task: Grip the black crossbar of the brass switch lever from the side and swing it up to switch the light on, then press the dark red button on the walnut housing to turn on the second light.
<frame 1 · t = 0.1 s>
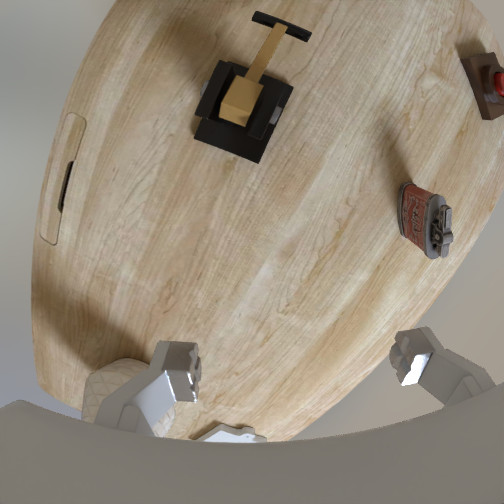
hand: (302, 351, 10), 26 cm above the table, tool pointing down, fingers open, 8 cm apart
light button: (503, 84, 22), point 4 cm above the table, slide at 0.1 cm
mounting plate: (229, 440, 58), on the table
button box: (485, 84, 26), on the table
switch bracket: (243, 111, 30), on the table
switch lever: (261, 60, 19), point 10 cm above the table, hinge at -25.0°
lighter: (407, 209, 35), on the table
vase: (138, 376, 48), on the table
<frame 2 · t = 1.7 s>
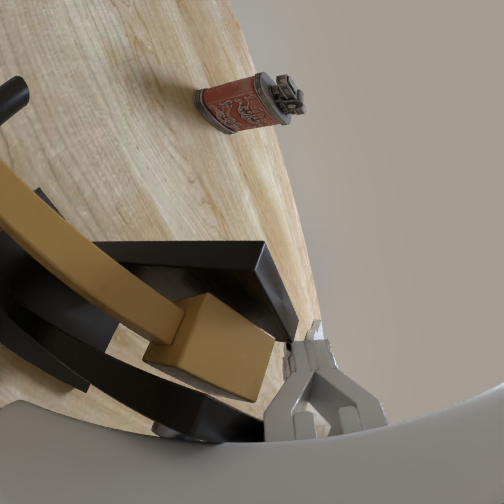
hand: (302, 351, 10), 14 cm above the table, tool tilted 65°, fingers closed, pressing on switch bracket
mounting plate: (310, 352, 71), on the table
switch bracket: (48, 298, 13), on the table
switch lever: (75, 262, 6), point 10 cm above the table, hinge at -25.0°
lighter: (213, 113, 29), on the table
vase: (267, 436, 46), on the table
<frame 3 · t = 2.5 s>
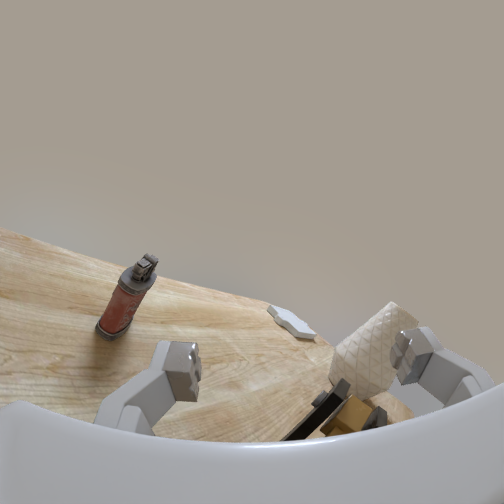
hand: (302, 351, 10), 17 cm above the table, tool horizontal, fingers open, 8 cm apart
mounting plate: (290, 325, 86), on the table
switch bracket: (253, 496, 18), on the table
switch lever: (314, 462, 14), point 10 cm above the table, hinge at -27.4°
lighter: (114, 325, 31), on the table
vase: (344, 388, 60), on the table
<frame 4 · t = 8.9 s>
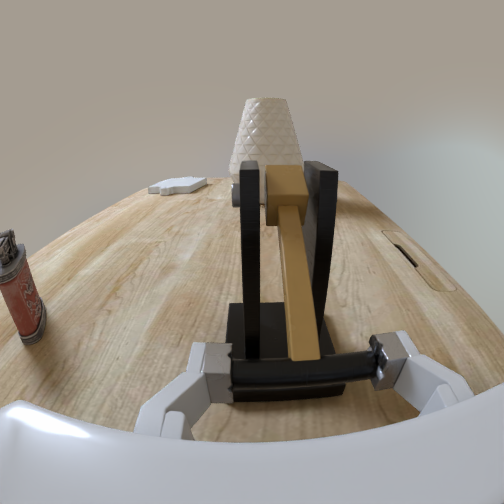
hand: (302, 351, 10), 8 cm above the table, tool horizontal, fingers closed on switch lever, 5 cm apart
mounting plate: (178, 188, 80), on the table
switch bracket: (278, 350, 21), on the table
switch lever: (293, 258, 13), point 10 cm above the table, hinge at -27.3°, touching gripper
lighter: (34, 323, 23), on the table
vase: (266, 199, 66), on the table
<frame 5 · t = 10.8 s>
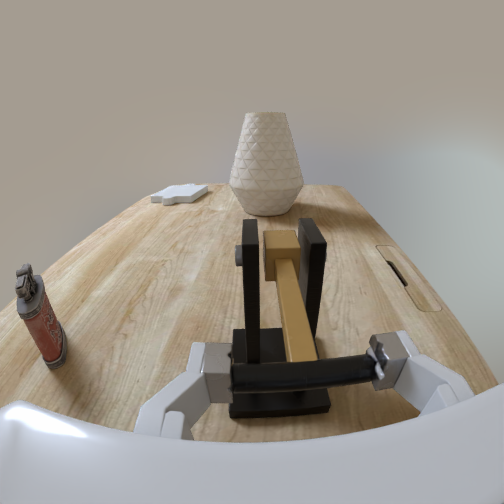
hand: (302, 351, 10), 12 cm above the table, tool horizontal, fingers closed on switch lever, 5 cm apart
mounting plate: (180, 197, 82), on the table
switch bracket: (275, 372, 24), on the table
switch lever: (289, 295, 15), point 12 cm above the table, hinge at -1.4°, touching gripper
lighter: (55, 346, 26), on the table
vase: (266, 209, 68), on the table
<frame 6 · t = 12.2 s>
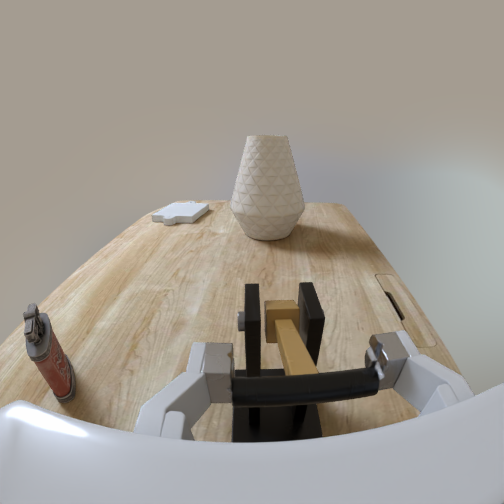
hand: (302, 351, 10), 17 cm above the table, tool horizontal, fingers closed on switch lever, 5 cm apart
mounting plate: (181, 215, 83), on the table
switch bracket: (274, 411, 25), on the table
switch lever: (289, 342, 15), point 14 cm above the table, hinge at 23.1°, touching gripper
lighter: (64, 379, 26), on the table
vase: (267, 232, 69), on the table
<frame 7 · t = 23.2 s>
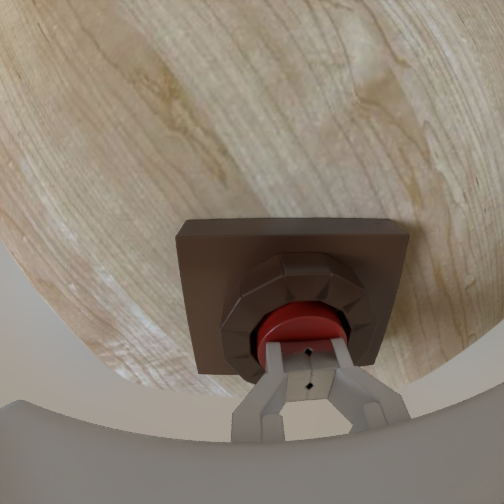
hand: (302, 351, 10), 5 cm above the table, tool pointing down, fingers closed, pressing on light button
light button: (300, 338, 11), point 4 cm above the table, slide at -0.7 cm, touching gripper
button box: (289, 291, 15), on the table
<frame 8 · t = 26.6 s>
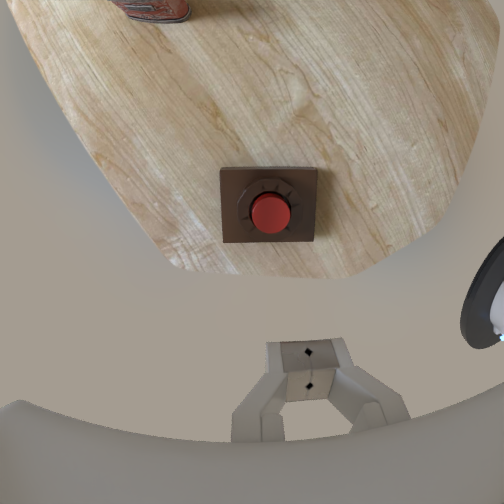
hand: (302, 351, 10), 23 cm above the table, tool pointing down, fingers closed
light button: (270, 213, 27), point 4 cm above the table, slide at 0.1 cm
button box: (267, 201, 31), on the table
lighter: (159, 12, 22), on the table
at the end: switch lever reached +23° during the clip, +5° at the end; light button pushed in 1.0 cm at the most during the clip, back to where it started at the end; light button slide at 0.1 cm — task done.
